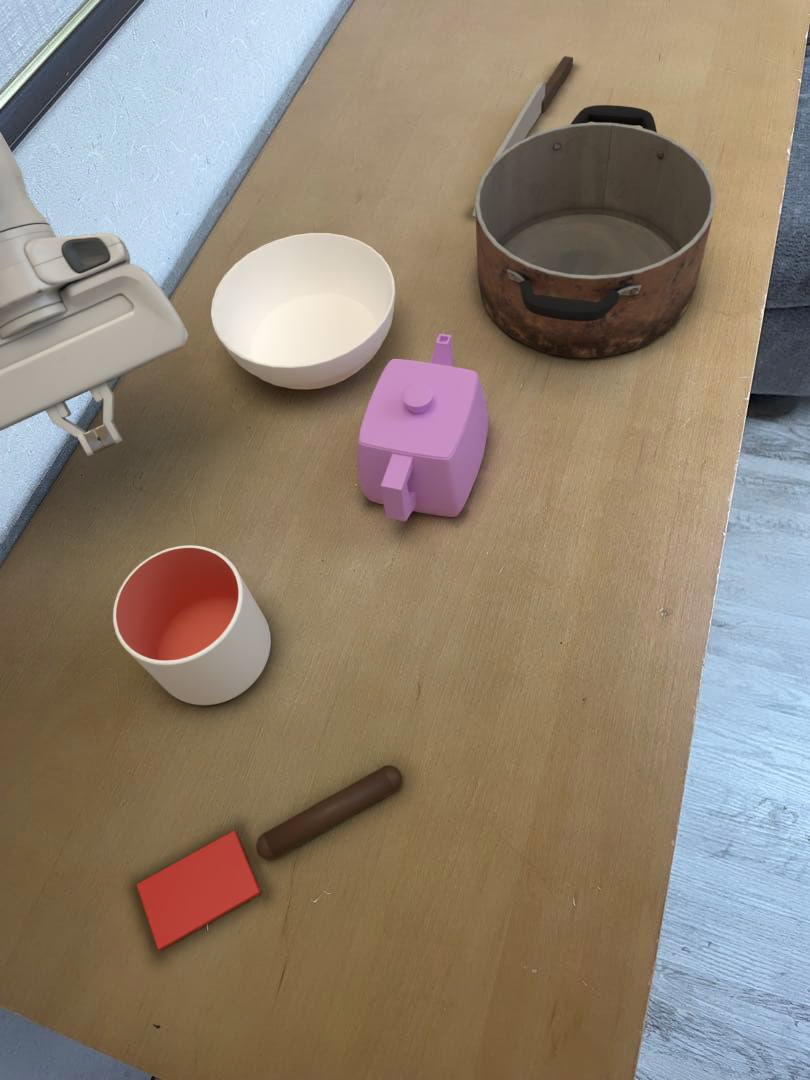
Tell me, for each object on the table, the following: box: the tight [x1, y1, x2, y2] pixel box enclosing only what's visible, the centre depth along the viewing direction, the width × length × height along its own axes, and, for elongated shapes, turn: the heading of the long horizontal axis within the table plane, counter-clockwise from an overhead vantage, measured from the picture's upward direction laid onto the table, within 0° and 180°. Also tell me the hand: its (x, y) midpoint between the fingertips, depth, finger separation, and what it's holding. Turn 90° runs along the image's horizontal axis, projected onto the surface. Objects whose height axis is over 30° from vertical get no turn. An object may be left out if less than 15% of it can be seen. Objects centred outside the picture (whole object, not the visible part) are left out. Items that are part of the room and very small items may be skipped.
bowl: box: [210, 232, 396, 391], centre depth 86 cm, size 18×18×7 cm
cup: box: [112, 544, 272, 706], centre depth 68 cm, size 10×10×10 cm
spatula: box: [136, 764, 403, 951], centre depth 63 cm, size 21×5×2 cm, turn 118°
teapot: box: [357, 333, 489, 522], centre depth 75 cm, size 18×10×10 cm, turn 163°
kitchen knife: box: [471, 55, 574, 218], centre depth 101 cm, size 4×1×30 cm
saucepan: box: [474, 104, 717, 359], centre depth 85 cm, size 30×22×11 cm
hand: (105, 448), depth 69 cm, fingers closed
